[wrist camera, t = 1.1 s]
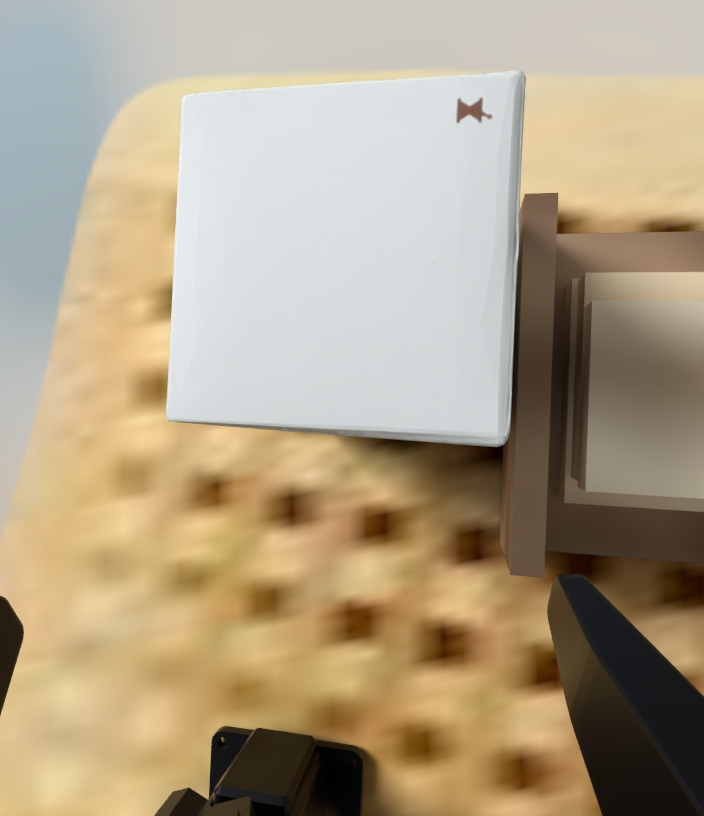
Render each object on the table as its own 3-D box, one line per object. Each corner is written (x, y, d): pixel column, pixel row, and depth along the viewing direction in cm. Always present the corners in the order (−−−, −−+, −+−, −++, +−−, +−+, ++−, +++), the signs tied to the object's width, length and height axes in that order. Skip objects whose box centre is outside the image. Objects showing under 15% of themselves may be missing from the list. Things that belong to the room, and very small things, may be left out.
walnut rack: (721, 559, 21) (799, 600, 16) (499, 541, 23) (510, 574, 18) (731, 239, 21) (811, 184, 17) (511, 243, 23) (525, 193, 18)
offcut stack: (692, 507, 21) (740, 524, 17) (558, 498, 21) (578, 513, 18) (699, 286, 21) (748, 258, 17) (566, 286, 22) (586, 259, 18)
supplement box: (319, 251, 24) (174, 76, 12) (497, 252, 23) (540, 55, 11) (308, 423, 24) (152, 424, 12) (486, 434, 23) (518, 449, 11)
